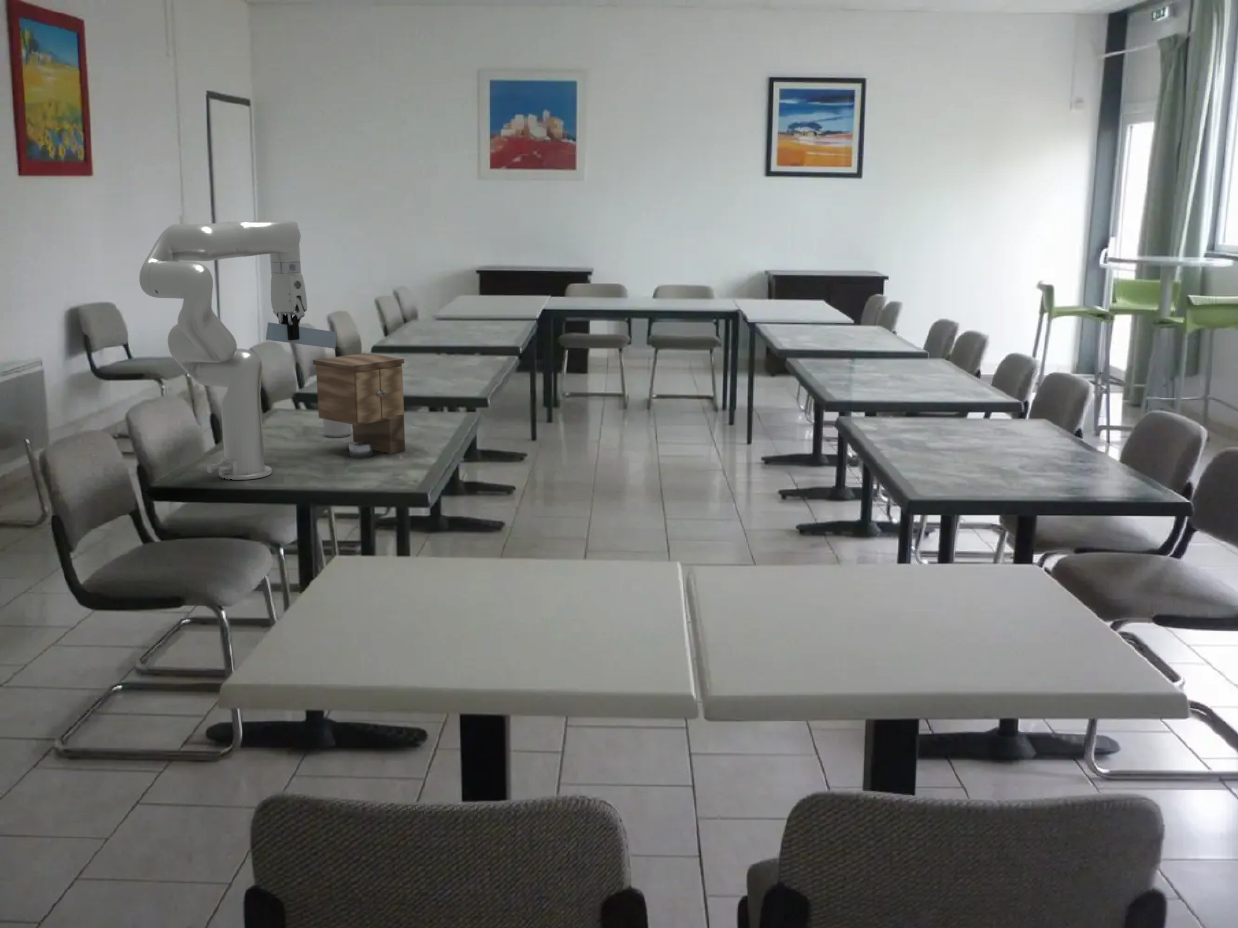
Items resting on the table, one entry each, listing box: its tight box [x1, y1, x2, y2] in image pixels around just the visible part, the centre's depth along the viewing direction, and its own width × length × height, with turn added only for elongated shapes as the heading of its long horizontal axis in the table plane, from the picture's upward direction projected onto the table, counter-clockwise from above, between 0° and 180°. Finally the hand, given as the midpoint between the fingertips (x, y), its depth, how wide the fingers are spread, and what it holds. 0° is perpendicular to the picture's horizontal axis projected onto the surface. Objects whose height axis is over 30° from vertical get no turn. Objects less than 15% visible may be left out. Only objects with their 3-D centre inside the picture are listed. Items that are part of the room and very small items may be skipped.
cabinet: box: [312, 352, 406, 454], centre depth 332 cm, size 17×18×25 cm
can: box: [322, 419, 352, 439], centre depth 355 cm, size 8×8×12 cm
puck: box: [348, 441, 373, 459], centre depth 330 cm, size 6×6×4 cm
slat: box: [265, 321, 338, 349], centre depth 327 cm, size 20×2×4 cm, turn 139°
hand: (290, 338), depth 324 cm, fingers closed on slat, 2 cm apart
